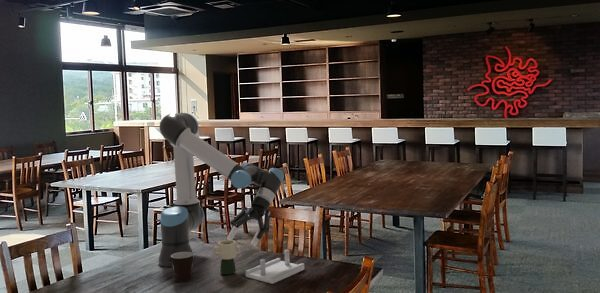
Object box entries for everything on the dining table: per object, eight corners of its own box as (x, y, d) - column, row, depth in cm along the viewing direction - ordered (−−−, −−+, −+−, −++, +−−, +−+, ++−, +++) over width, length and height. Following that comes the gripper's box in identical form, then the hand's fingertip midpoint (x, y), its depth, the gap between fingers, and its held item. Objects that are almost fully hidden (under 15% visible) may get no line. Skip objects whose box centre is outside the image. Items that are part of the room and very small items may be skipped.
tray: (245, 276, 210) (245, 258, 210) (278, 263, 226) (277, 246, 225) (272, 283, 202) (271, 264, 201) (304, 269, 218) (303, 251, 217)
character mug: (242, 270, 219) (241, 239, 218) (240, 275, 212) (239, 244, 210) (216, 270, 219) (214, 240, 218) (213, 276, 212) (211, 244, 210)
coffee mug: (189, 284, 204) (188, 258, 203) (168, 283, 206) (167, 257, 205) (200, 274, 215) (199, 250, 214) (180, 273, 217) (179, 249, 216)
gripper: (289, 208, 224) (268, 252, 213) (246, 202, 239) (224, 243, 228) (281, 198, 219) (258, 242, 208) (237, 193, 234) (214, 234, 223)
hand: (240, 243), depth 218 cm, fingers open, 13 cm apart
